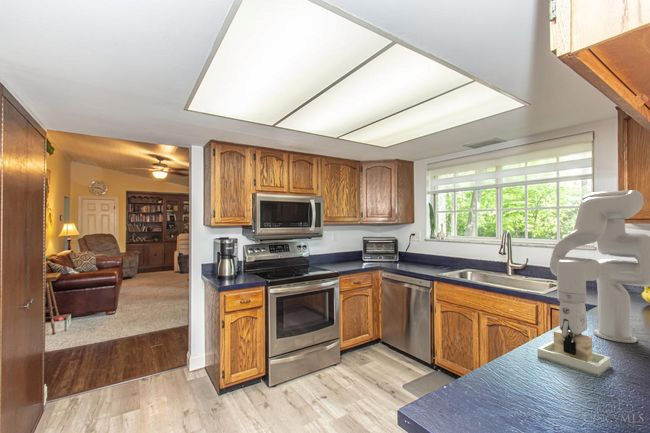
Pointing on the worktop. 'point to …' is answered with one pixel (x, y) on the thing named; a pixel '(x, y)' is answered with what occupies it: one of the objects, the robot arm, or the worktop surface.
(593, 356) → the tray
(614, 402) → the worktop surface
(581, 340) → the block
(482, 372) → the worktop surface
